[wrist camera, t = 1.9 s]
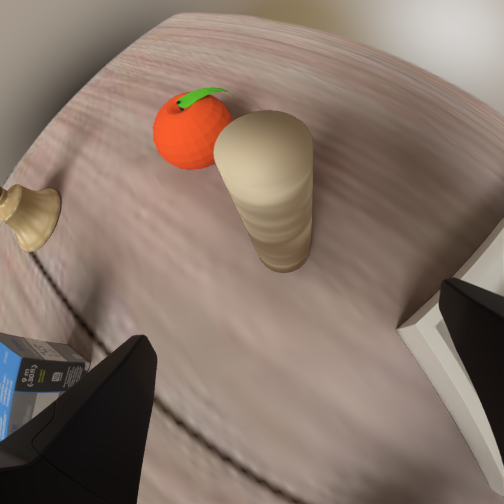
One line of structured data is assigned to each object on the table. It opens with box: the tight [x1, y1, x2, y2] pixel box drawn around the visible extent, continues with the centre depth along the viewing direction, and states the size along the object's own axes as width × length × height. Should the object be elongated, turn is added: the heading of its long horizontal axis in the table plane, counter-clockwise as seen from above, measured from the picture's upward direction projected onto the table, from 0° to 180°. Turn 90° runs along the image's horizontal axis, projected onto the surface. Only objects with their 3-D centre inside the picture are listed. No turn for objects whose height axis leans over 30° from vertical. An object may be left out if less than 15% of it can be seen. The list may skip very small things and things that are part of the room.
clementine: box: [153, 88, 235, 170], centre depth 24 cm, size 8×7×7 cm
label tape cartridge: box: [0, 333, 90, 441], centre depth 16 cm, size 9×4×12 cm, turn 157°
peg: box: [214, 110, 313, 273], centre depth 17 cm, size 4×4×12 cm
